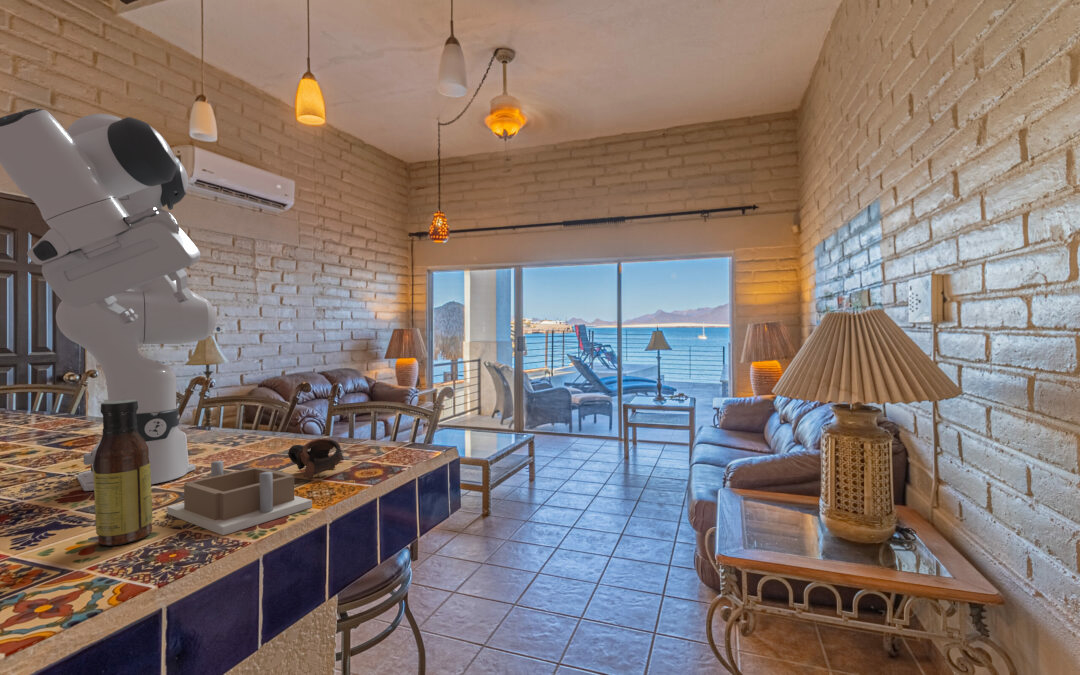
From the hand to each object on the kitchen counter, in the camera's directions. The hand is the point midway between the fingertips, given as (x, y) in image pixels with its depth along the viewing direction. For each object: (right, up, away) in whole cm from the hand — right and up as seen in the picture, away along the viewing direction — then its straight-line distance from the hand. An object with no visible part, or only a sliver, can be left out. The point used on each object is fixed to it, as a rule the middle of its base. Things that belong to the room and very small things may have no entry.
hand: (159, 310), depth 78 cm
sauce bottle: (0, -33, -7) cm, 34 cm away
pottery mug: (+12, -34, +28) cm, 45 cm away
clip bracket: (+10, -33, +5) cm, 35 cm away
